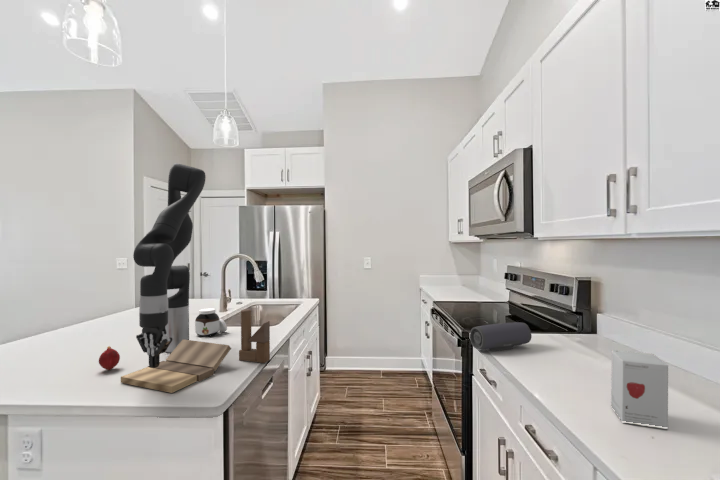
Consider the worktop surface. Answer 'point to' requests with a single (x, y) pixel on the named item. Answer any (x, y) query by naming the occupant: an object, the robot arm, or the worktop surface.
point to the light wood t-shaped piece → (254, 340)
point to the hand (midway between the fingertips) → (154, 367)
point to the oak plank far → (199, 353)
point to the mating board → (187, 369)
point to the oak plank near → (159, 379)
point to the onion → (109, 358)
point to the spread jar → (209, 323)
